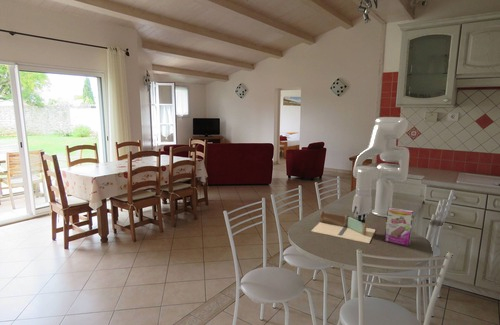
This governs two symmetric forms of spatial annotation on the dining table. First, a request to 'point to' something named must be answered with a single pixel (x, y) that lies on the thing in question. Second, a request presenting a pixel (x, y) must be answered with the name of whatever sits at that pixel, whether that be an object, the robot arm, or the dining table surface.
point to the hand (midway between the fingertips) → (361, 226)
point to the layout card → (344, 232)
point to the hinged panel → (357, 225)
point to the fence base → (333, 219)
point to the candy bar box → (398, 226)
